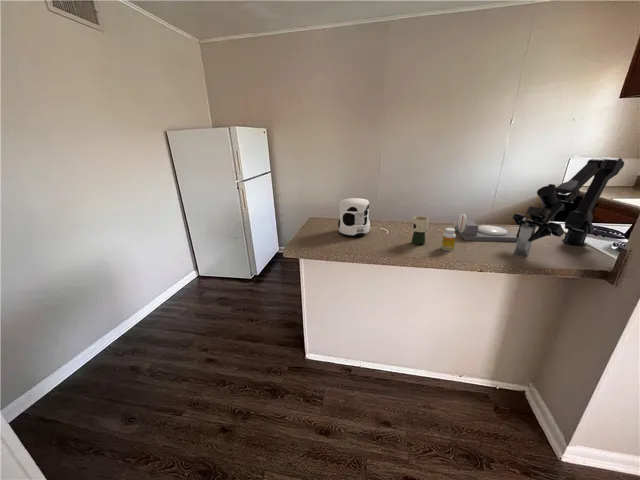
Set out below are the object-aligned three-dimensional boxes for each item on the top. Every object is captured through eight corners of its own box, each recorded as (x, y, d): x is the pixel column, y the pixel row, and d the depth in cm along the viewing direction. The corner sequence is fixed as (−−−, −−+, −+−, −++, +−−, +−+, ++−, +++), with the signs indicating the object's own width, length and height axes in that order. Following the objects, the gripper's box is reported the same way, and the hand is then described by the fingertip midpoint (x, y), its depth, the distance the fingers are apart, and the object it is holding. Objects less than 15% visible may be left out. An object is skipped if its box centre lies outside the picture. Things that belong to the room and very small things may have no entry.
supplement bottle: (454, 251, 123) (458, 231, 120) (442, 250, 124) (445, 230, 121) (452, 246, 128) (455, 227, 125) (439, 246, 129) (442, 227, 126)
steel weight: (524, 251, 121) (531, 224, 116) (530, 256, 116) (538, 227, 112) (512, 251, 122) (519, 223, 117) (518, 255, 117) (525, 227, 112)
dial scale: (501, 229, 148) (505, 210, 144) (518, 241, 132) (523, 220, 128) (453, 228, 152) (456, 209, 148) (464, 240, 136) (468, 219, 132)
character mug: (409, 238, 139) (411, 214, 134) (424, 239, 138) (426, 214, 133) (411, 246, 129) (414, 221, 124) (427, 247, 128) (431, 221, 123)
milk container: (348, 226, 161) (348, 196, 154) (375, 231, 151) (376, 199, 144) (332, 235, 148) (331, 202, 141) (360, 241, 138) (361, 206, 131)
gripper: (520, 195, 120) (496, 222, 121) (567, 204, 103) (539, 235, 104) (528, 210, 125) (505, 236, 126) (575, 221, 108) (548, 251, 109)
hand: (522, 239), depth 116 cm, fingers closed on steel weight, 5 cm apart
